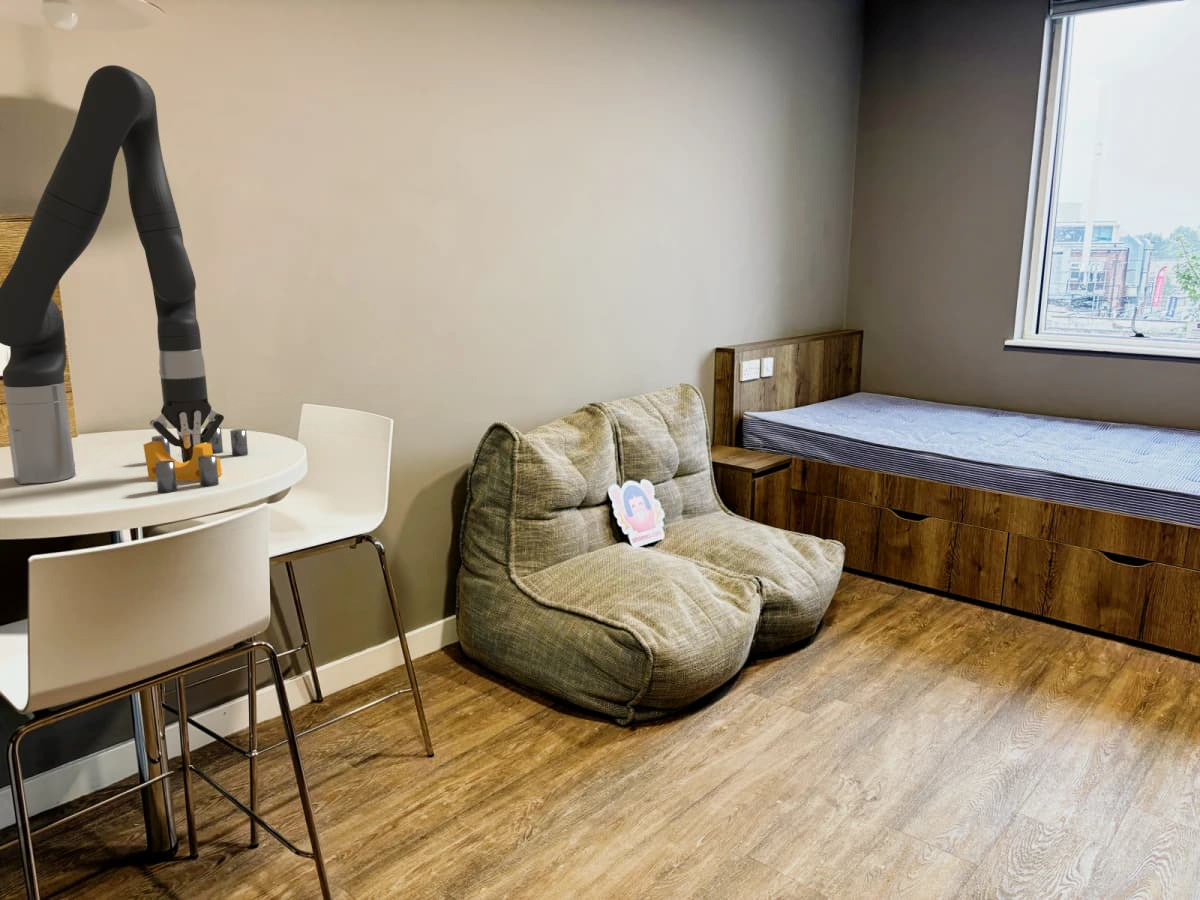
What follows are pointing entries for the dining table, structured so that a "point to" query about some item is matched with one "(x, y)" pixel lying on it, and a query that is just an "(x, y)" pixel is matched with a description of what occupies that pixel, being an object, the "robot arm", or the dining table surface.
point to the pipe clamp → (182, 470)
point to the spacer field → (199, 461)
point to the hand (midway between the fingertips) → (192, 466)
